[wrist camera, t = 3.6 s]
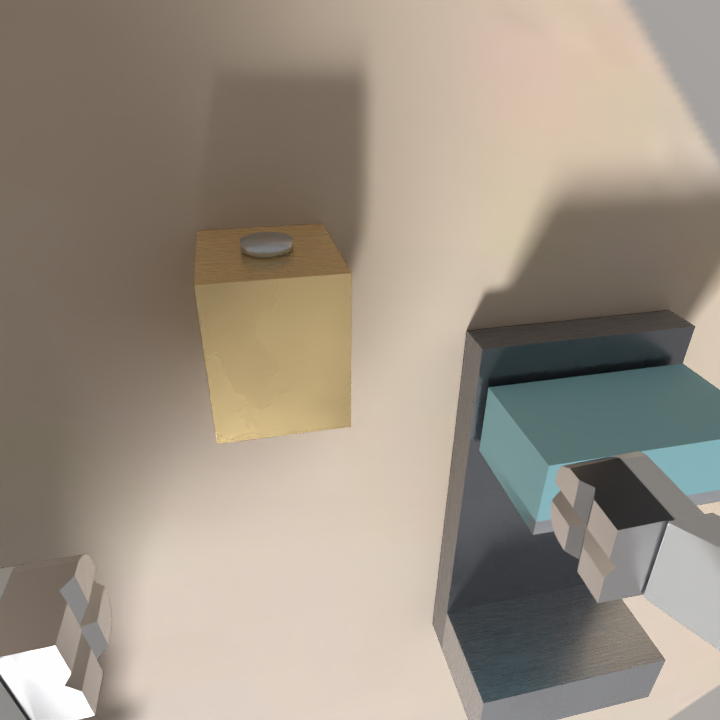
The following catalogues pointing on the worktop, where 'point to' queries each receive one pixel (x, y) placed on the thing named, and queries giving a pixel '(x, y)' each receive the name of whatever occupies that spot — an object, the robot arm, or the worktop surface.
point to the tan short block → (274, 330)
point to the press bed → (536, 542)
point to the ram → (602, 432)
